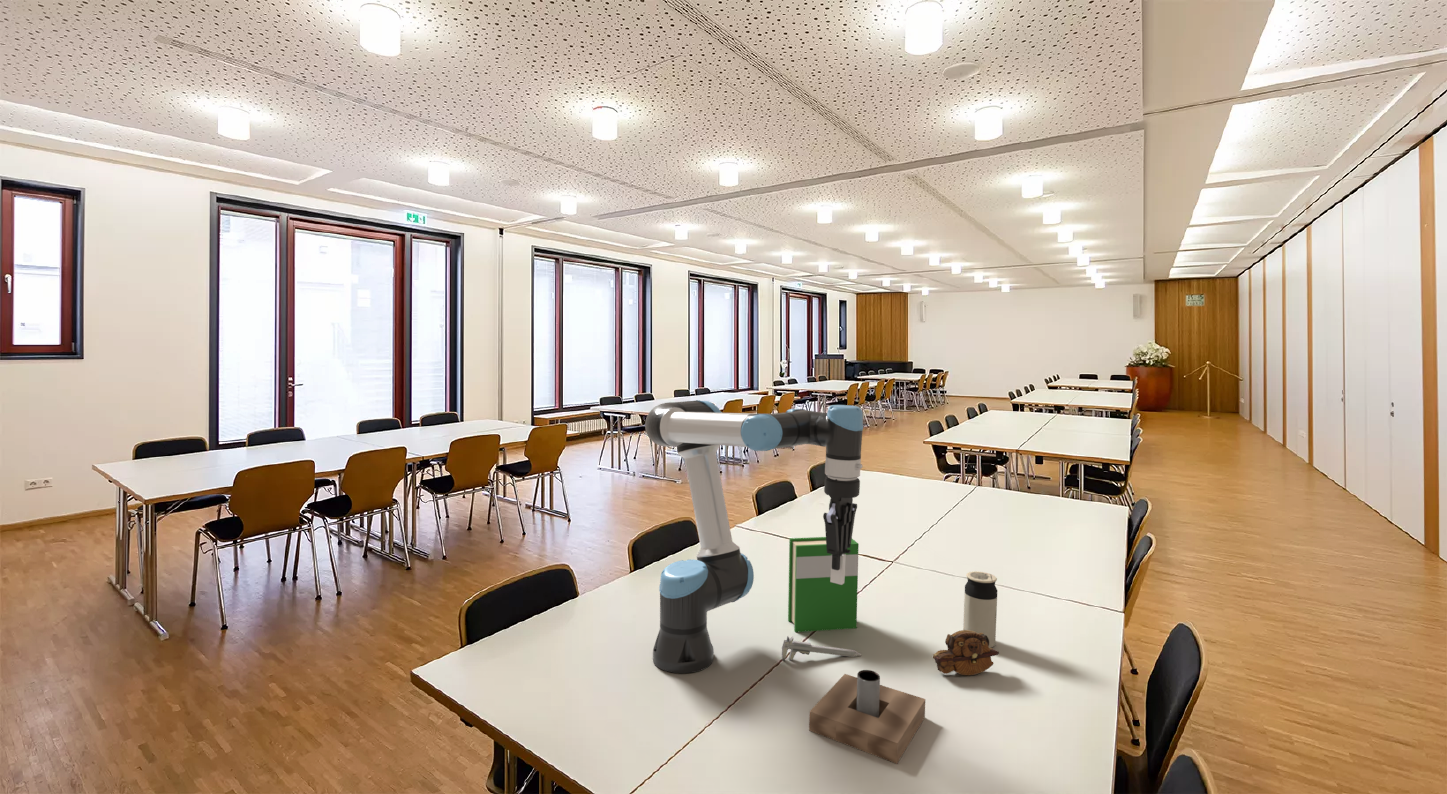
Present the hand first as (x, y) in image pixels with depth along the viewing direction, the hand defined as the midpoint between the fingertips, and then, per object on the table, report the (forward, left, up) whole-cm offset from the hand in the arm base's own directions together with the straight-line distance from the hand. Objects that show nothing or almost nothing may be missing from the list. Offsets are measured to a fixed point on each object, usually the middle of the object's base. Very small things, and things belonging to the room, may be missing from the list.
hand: (837, 582), depth 136 cm
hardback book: (-18, +32, -26) cm, 45 cm away
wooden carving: (+22, +27, -26) cm, 44 cm away
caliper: (-10, +15, -26) cm, 32 cm away
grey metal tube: (+10, -6, -26) cm, 28 cm away
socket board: (+10, -6, -26) cm, 28 cm away
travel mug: (+21, +46, -26) cm, 57 cm away
